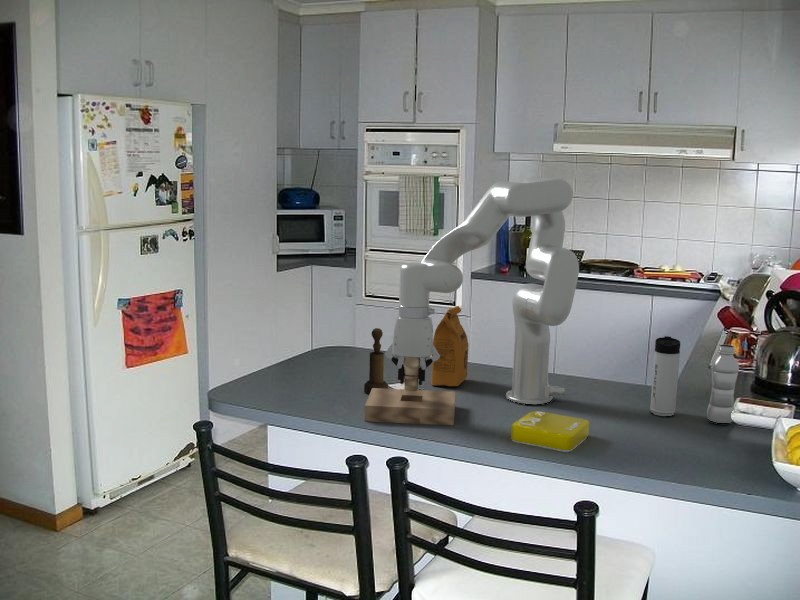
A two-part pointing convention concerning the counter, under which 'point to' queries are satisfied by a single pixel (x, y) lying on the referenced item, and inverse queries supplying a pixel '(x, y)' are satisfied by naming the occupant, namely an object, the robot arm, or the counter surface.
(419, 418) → the board
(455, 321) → the coffee package
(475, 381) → the counter surface
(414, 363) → the peg
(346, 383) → the counter surface
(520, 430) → the element tile
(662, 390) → the travel mug
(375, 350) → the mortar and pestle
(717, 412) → the plastic bottle
